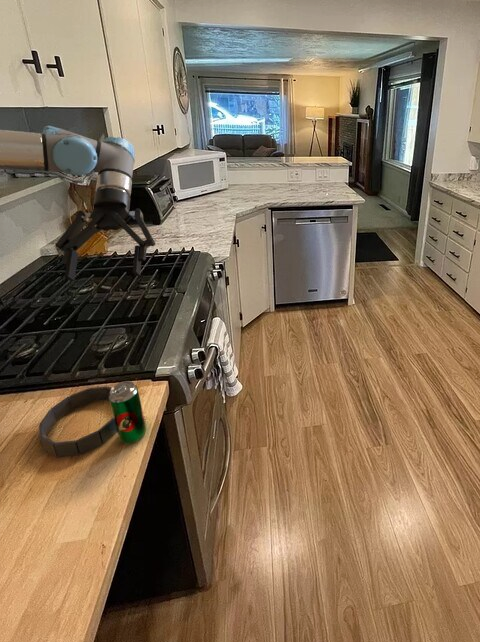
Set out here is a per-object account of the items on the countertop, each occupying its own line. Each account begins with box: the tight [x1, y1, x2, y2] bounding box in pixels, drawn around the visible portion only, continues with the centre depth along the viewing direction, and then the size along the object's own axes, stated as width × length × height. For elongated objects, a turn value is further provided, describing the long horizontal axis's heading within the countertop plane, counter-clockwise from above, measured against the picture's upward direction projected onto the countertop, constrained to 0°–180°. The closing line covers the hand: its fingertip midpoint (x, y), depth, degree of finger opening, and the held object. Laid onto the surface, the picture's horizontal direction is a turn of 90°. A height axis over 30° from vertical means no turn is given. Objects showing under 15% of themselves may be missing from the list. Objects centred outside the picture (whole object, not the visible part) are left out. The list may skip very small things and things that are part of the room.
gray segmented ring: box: [38, 386, 117, 459], centre depth 75 cm, size 15×15×4 cm
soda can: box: [108, 380, 148, 444], centre depth 71 cm, size 5×5×12 cm
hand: (103, 276), depth 79 cm, fingers open, 13 cm apart
